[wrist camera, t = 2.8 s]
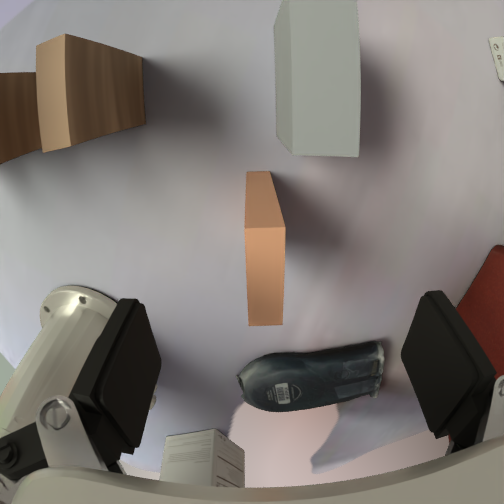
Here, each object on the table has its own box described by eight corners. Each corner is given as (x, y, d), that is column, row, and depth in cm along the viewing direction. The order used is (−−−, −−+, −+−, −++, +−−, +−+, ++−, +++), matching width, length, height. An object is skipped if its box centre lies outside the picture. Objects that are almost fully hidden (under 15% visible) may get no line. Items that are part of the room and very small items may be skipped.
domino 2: (142, 57, 17) (65, 33, 8) (145, 123, 19) (70, 146, 10) (121, 61, 17) (36, 45, 8) (125, 127, 19) (42, 152, 10)
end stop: (318, 28, 16) (355, -8, 9) (319, 136, 20) (358, 157, 12) (273, 26, 16) (287, -16, 9) (276, 136, 20) (292, 155, 13)
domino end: (269, 171, 21) (285, 227, 12) (270, 236, 23) (282, 324, 14) (246, 171, 21) (244, 228, 12) (248, 236, 23) (248, 325, 14)
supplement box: (198, 457, 42) (191, 535, 28) (164, 435, 38) (150, 522, 25) (246, 450, 40) (246, 535, 27) (216, 427, 36) (210, 526, 23)
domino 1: (76, 73, 17) (-17, 74, 8) (80, 135, 19) (-10, 168, 10) (59, 79, 17) (-34, 85, 8) (64, 139, 19) (-26, 173, 10)
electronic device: (371, 316, 29) (228, 356, 29) (394, 357, 25) (235, 404, 24) (362, 365, 35) (245, 398, 34) (378, 400, 30) (253, 437, 29)
